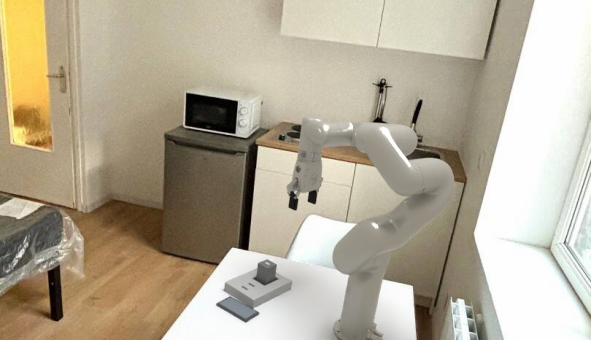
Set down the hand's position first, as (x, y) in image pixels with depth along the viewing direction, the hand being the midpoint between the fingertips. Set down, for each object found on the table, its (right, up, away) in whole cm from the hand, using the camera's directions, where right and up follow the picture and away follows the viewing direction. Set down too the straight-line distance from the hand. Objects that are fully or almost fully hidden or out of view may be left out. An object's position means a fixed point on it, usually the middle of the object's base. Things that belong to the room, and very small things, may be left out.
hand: (302, 205), depth 156 cm
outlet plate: (-14, -27, +2) cm, 31 cm away
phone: (-20, -31, -10) cm, 38 cm away
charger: (-12, -26, +4) cm, 29 cm away
